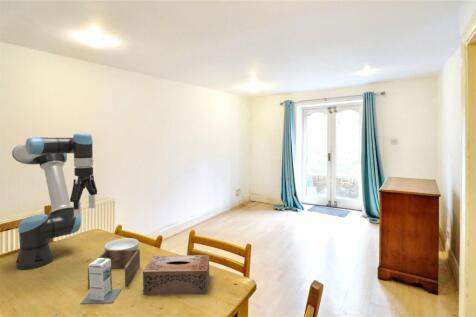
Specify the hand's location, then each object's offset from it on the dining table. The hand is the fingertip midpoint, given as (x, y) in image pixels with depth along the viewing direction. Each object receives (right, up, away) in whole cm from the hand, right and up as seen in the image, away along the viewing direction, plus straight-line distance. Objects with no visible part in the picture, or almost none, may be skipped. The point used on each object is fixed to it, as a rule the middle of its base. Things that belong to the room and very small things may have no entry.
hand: (85, 211), depth 124 cm
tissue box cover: (+46, -30, -9) cm, 56 cm away
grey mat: (+17, -30, -18) cm, 39 cm away
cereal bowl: (+10, -28, +18) cm, 34 cm away
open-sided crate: (+16, -29, -3) cm, 33 cm away
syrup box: (+17, -30, -19) cm, 39 cm away
